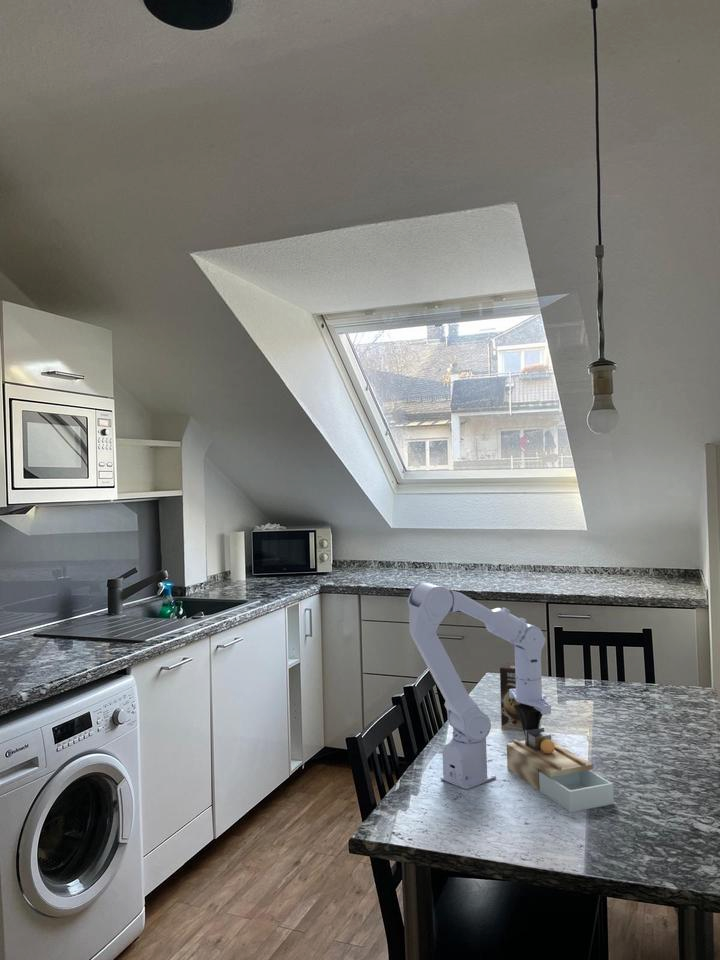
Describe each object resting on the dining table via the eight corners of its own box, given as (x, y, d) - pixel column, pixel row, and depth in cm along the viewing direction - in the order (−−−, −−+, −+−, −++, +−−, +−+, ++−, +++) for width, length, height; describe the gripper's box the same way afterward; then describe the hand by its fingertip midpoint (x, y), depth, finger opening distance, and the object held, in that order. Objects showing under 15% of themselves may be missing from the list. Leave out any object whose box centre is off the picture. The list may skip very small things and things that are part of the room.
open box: (539, 790, 155) (538, 771, 155) (580, 783, 158) (580, 764, 158) (570, 812, 144) (569, 791, 144) (613, 803, 147) (613, 783, 147)
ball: (549, 757, 158) (548, 742, 158) (537, 753, 161) (537, 739, 161) (557, 753, 160) (557, 739, 160) (546, 749, 163) (546, 736, 163)
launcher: (507, 768, 167) (506, 740, 168) (546, 761, 171) (545, 734, 171) (552, 799, 150) (550, 768, 150) (594, 791, 154) (592, 761, 154)
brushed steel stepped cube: (525, 745, 165) (524, 729, 165) (542, 742, 166) (542, 726, 167) (534, 751, 162) (534, 734, 162) (552, 748, 163) (551, 731, 163)
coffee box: (500, 729, 194) (498, 667, 194) (507, 721, 200) (505, 661, 200) (535, 733, 190) (533, 670, 190) (541, 726, 195) (539, 664, 196)
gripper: (562, 682, 162) (564, 745, 162) (527, 668, 175) (529, 725, 175) (533, 686, 159) (536, 750, 159) (500, 671, 173) (502, 729, 173)
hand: (530, 737), depth 167 cm, fingers closed
